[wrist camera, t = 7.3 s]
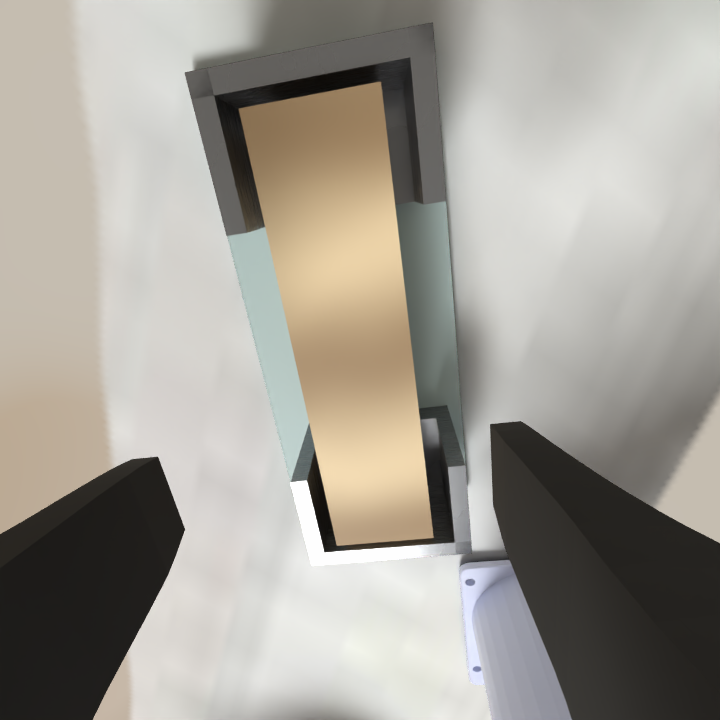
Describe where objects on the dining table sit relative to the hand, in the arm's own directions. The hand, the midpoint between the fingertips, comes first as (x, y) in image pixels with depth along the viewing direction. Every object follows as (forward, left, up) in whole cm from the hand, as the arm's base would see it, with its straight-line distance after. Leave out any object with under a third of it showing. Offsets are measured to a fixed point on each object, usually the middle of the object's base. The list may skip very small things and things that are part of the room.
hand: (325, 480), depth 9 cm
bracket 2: (-5, 0, -10) cm, 11 cm away
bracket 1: (+7, 0, -10) cm, 12 cm away
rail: (+1, 0, -8) cm, 8 cm away
